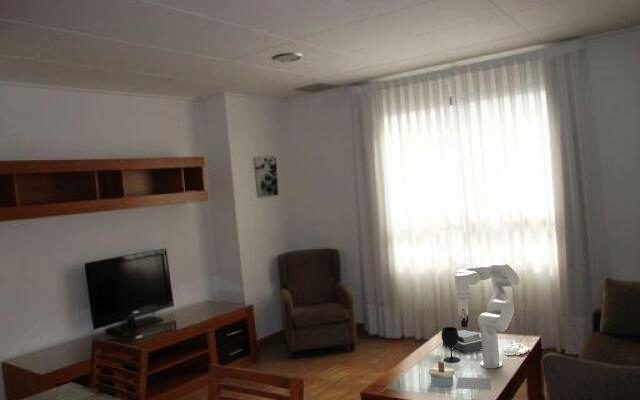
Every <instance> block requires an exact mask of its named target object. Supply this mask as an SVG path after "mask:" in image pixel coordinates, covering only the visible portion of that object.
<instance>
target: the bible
mask: <svg viewBox="0 0 640 400" xmlns="http://www.w3.org/2000/svg"><path fill="white" fill-rule="evenodd" d="M458 337H459V338H458V342H457V344H456V345H455V346H454V347H452V348H453V349H452V350H454V349H455V350H454V351H456V350H457V351H456V352H458V351H459V352H458V353H461V354H469V352H470V353H473V351H474V352H477V350H478V351H481V350H480V349H482V341H481V335H480V334H479V333H477V332H475V331H470V330H465V329H462V330H460V331H458ZM444 345H445V344H444V342H443V341H442V346H444ZM445 347H447V345H446V346H445Z"/></svg>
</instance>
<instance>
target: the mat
mask: <svg viewBox="0 0 640 400" xmlns="http://www.w3.org/2000/svg"><path fill="white" fill-rule="evenodd" d="M491 385H492V379H491V377H489V378H487V377H484V378H483V377H461V376H460V377H459V376H458V377H457V381H456V389H462V390H463V389H465V390H466V389H467V390H489V391H490V390H491V388H492V387H491Z"/></svg>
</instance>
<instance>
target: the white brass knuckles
mask: <svg viewBox="0 0 640 400" xmlns="http://www.w3.org/2000/svg"><path fill="white" fill-rule="evenodd" d="M519 345H521V346H519ZM519 347H523V349H522V348H519ZM530 349H531V350H532V348H531V347H529V346H526V345H524V344H523V343H521V342H520V343H519V342H516V343H512V344H508V345H506V346H505V347H504V348H503V349H502V350H503V354H504V353H507V354H509V353H514V352H515V353H516V352H520V353H521V355H522V353H524V352H526V351H528V350H530ZM517 350H519V351H517Z"/></svg>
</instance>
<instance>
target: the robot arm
mask: <svg viewBox="0 0 640 400" xmlns="http://www.w3.org/2000/svg"><path fill="white" fill-rule="evenodd" d="M489 279H491V283H492V287H493V293H492V295H491V297H490V299H489V302H488V303H487V306H486V311H487V312H482V313H480V314H479V316H478V318H477V322H478V326H479V330H480V337H481V341H482V350H481V351H482V352H481V353H482V361H480V365H481V367H483V368H486V369H498V368H497V367H499V368H501V367H503V362H502V361H500V351H499V336H498V334H497V332H505V331H506V330H507V328H508V327H509V325H510V322H511V321H512V318H513V316H514V313H515V305H514V303H513V302H512V301H510V300H507V298H508V293H507V291H506V290H505V287H508V288H516V287H519V284H520V277H519V274H517V272H516V271H515V270H514V269H513V268H512V266H510V265H509V264H508V263H505V262H490V263H487V264H484V265H480V266H473V267H466V268H463V269H459V270H458V271H457V272H455V275H454V287H455V299H457V304H458V305H457V307H458V309H457V310H458V317H460V318H461V328H468V323H469V299H470V286H472V285H473V286H474V285H477V284H478V283H479V282H480V281H487V280H489ZM500 366H501V367H500Z"/></svg>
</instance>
